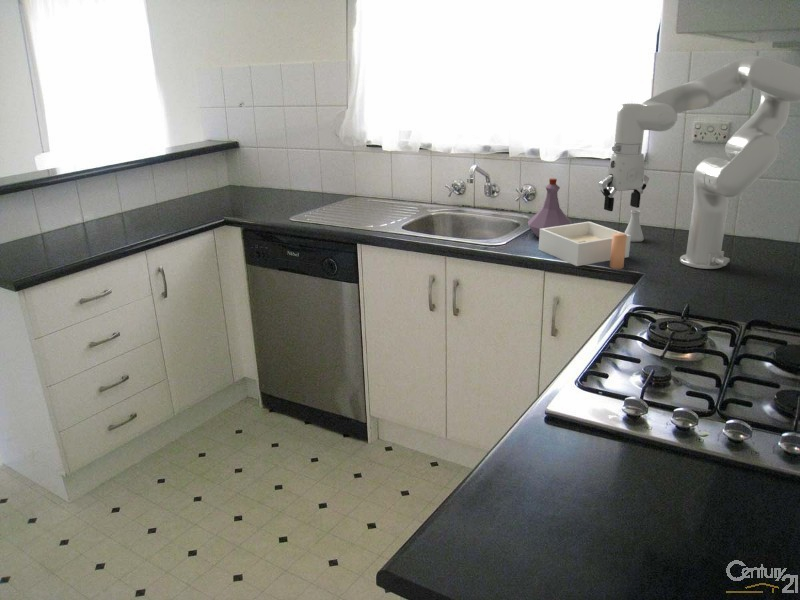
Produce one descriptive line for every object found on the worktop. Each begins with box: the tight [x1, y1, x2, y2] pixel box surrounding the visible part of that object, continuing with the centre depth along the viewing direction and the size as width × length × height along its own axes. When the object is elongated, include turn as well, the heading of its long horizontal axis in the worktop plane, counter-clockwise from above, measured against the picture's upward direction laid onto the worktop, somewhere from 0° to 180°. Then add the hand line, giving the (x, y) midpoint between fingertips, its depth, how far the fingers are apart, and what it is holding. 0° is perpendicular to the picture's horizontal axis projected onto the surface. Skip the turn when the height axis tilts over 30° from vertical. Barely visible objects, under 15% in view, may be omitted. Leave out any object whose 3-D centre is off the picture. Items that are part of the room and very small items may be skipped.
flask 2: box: [624, 209, 645, 243], centre depth 229 cm, size 7×7×10 cm
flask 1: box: [527, 178, 573, 238], centre depth 234 cm, size 16×16×20 cm
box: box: [538, 221, 631, 267], centre depth 216 cm, size 20×20×7 cm
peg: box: [609, 232, 627, 270], centre depth 202 cm, size 4×4×10 cm
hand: (621, 208), depth 197 cm, fingers open, 9 cm apart
